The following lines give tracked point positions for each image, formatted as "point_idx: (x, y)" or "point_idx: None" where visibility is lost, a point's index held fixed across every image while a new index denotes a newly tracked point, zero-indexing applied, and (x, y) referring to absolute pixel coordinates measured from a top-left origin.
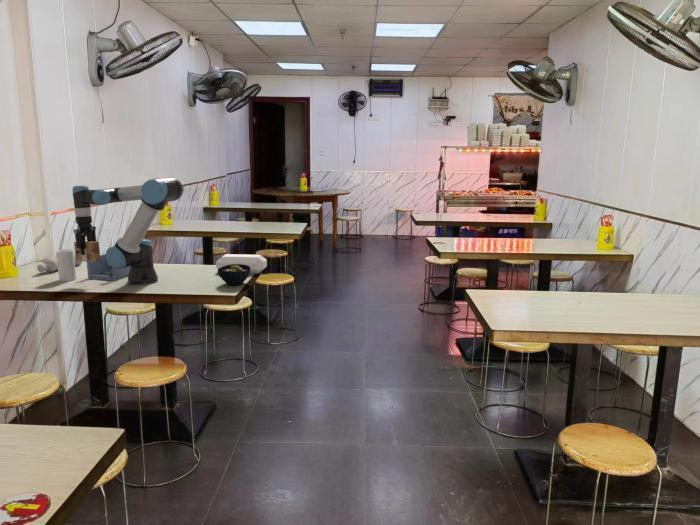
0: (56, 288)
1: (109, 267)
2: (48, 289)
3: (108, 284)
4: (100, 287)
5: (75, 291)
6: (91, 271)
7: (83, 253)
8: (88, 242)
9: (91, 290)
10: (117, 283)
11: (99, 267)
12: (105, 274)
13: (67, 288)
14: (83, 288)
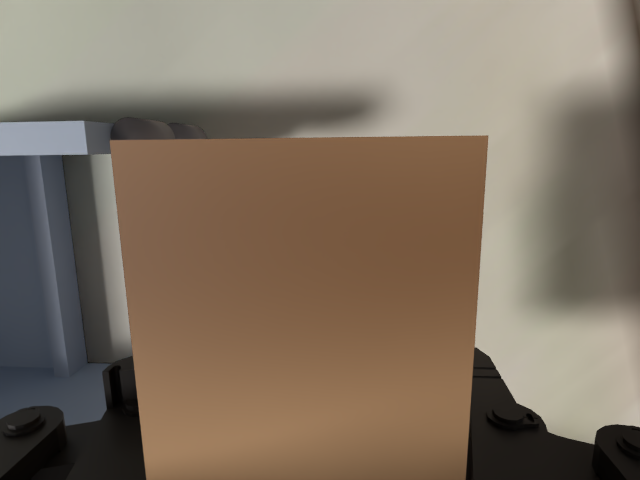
0: (564, 388)
1: (166, 133)
2: (607, 423)
3: (328, 63)
4: (445, 52)
5: (626, 166)
6: None
7: (483, 363)
8: (389, 452)
9: (564, 50)
10: (271, 7)
11: (49, 399)
12: (75, 321)
13: (545, 306)
14: (514, 176)
